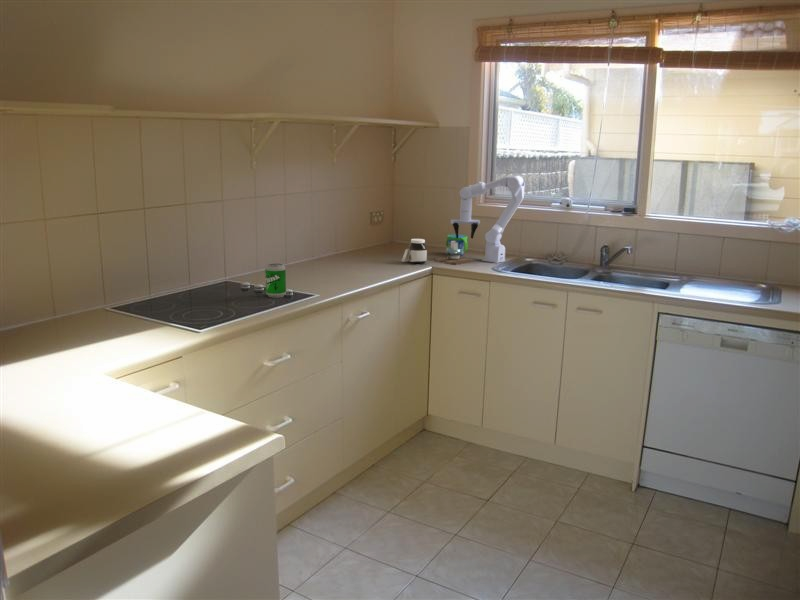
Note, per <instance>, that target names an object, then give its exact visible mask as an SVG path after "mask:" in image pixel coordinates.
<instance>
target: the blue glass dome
mask: <svg viewBox="0 0 800 600" xmlns="http://www.w3.org/2000/svg"><path fill="white" fill-rule="evenodd" d="M445 254H446V255H447V256H448V255H461V254H462V249H461V248H458V243H457V242H456V241H451V248H449V247H446V248H445Z"/></svg>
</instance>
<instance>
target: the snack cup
mask: <svg viewBox="0 0 800 600" xmlns="http://www.w3.org/2000/svg"><path fill="white" fill-rule="evenodd" d="M468 239H469V238H468V236H467V235H464V234H458V238H456V234H448V235H447V236H446V242H445V246H446V248H451V241H456V242H457V243H458V248H461V249H462V254H461V255H462V256H464V254H465V252H467V251H468V250H469V244H468ZM461 255H460V257H461Z"/></svg>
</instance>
